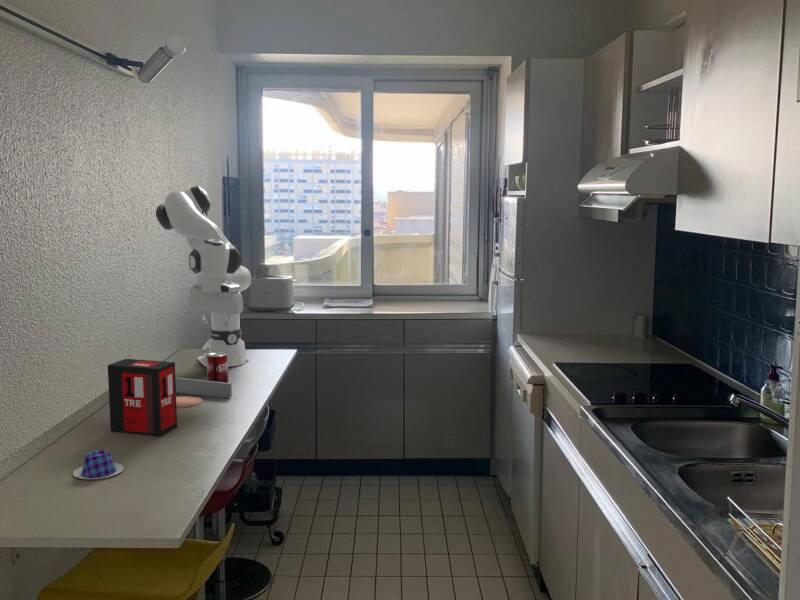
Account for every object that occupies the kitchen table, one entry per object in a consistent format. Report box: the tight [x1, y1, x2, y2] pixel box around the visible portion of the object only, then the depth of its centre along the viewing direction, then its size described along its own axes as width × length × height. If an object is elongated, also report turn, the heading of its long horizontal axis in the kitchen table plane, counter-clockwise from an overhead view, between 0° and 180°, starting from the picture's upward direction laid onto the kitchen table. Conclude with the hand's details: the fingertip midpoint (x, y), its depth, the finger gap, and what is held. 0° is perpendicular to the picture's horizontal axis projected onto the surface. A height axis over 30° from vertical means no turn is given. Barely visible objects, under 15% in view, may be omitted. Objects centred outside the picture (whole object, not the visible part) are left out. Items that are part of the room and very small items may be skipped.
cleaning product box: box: [107, 358, 178, 438], centre depth 238 cm, size 16×9×20 cm, turn 74°
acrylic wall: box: [175, 376, 233, 398], centre depth 278 cm, size 24×1×5 cm, turn 70°
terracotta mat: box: [176, 395, 203, 409], centre depth 269 cm, size 13×13×1 cm
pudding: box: [72, 449, 124, 480], centre depth 204 cm, size 12×12×5 cm
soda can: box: [206, 352, 229, 383], centre depth 288 cm, size 7×7×12 cm
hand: (216, 324), depth 285 cm, fingers open, 8 cm apart
